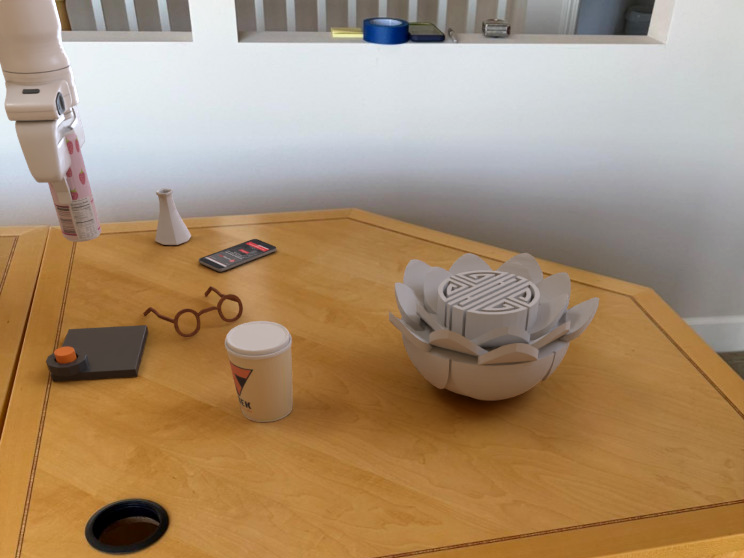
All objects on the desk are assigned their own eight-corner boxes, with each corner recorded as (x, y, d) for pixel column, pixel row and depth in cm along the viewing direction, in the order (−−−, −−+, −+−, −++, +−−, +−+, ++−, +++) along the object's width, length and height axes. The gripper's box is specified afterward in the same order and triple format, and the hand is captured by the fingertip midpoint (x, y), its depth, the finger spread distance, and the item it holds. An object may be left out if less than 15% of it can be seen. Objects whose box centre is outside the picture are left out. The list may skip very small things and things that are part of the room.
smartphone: (277, 247, 159) (219, 269, 151) (278, 250, 160) (220, 273, 151) (255, 238, 163) (196, 259, 154) (255, 241, 163) (197, 262, 155)
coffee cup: (229, 399, 118) (216, 326, 110) (287, 386, 121) (280, 315, 112) (244, 431, 111) (233, 357, 103) (306, 417, 114) (299, 343, 106)
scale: (48, 385, 121) (42, 368, 119) (68, 336, 132) (63, 320, 130) (136, 380, 122) (132, 363, 120) (148, 332, 134) (144, 316, 132)
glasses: (179, 343, 131) (174, 315, 127) (143, 316, 138) (137, 289, 135) (245, 319, 137) (242, 292, 134) (207, 295, 144) (203, 269, 141)
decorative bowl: (469, 316, 139) (475, 232, 128) (609, 378, 123) (628, 288, 113) (343, 377, 123) (338, 286, 113) (484, 457, 107) (494, 360, 97)
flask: (149, 243, 163) (138, 194, 156) (169, 231, 168) (159, 183, 161) (178, 248, 161) (168, 198, 154) (197, 236, 166) (189, 187, 159)
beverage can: (101, 226, 122) (74, 122, 112) (102, 240, 118) (75, 133, 108) (63, 230, 121) (33, 126, 111) (63, 244, 117) (32, 137, 107)
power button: (55, 365, 120) (52, 356, 119) (58, 355, 122) (56, 346, 121) (74, 364, 120) (72, 355, 119) (78, 354, 123) (75, 345, 121)
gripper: (35, 73, 114) (63, 173, 123) (0, 110, 98) (34, 220, 108) (80, 72, 114) (103, 171, 123) (51, 108, 99) (81, 218, 108)
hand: (71, 194), depth 115 cm, fingers closed on beverage can, 5 cm apart
